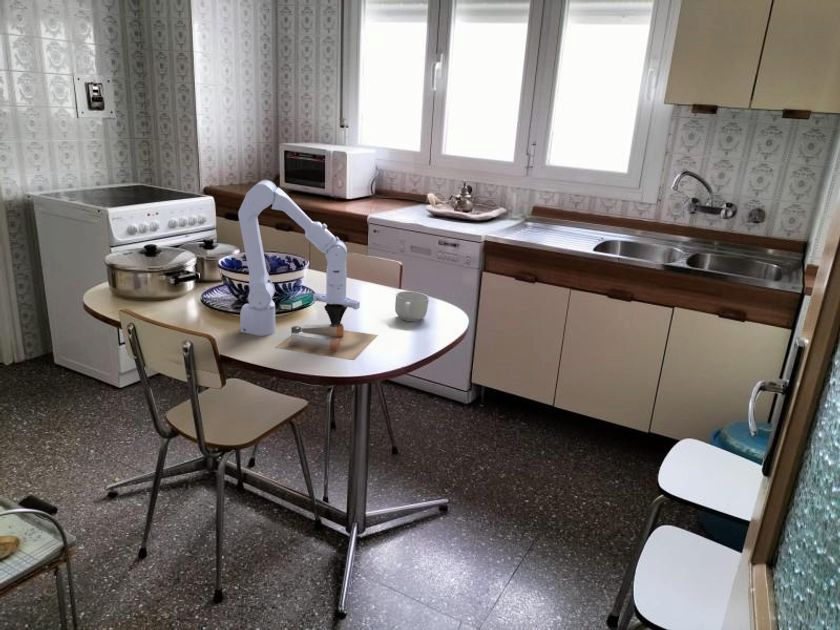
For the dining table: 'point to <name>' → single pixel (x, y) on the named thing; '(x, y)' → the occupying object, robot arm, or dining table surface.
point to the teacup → (411, 305)
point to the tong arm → (324, 329)
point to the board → (349, 345)
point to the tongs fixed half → (314, 340)
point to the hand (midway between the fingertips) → (335, 327)
